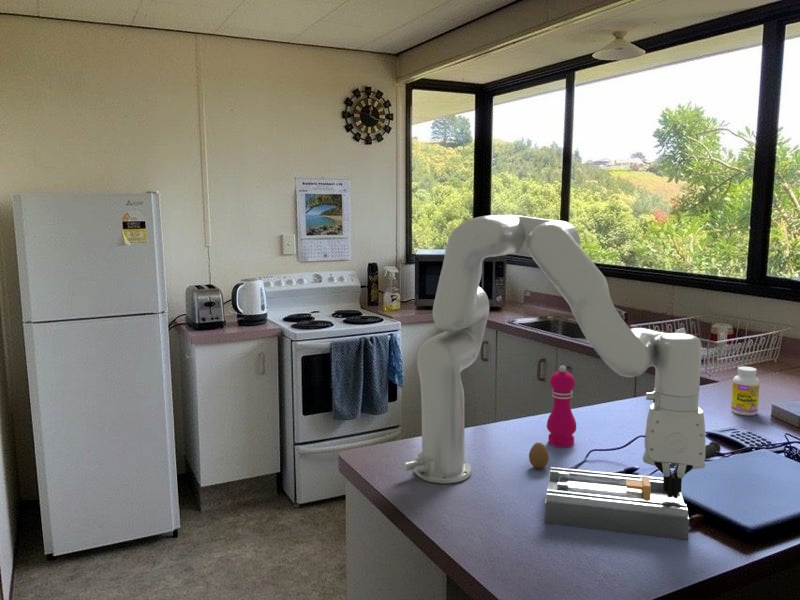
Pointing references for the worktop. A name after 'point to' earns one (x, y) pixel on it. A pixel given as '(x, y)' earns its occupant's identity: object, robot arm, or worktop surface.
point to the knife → (707, 450)
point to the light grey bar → (603, 489)
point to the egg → (538, 456)
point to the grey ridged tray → (615, 505)
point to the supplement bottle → (745, 392)
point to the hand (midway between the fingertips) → (671, 494)
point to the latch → (641, 486)
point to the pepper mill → (561, 410)
